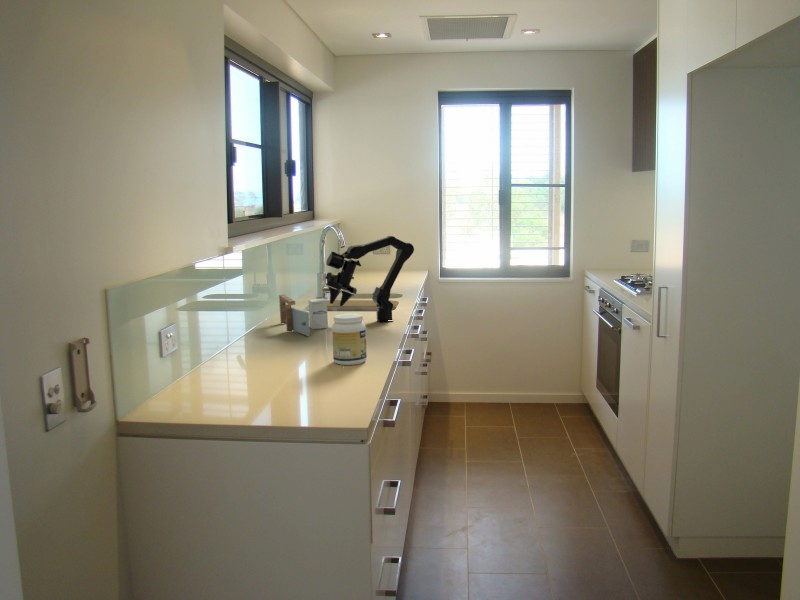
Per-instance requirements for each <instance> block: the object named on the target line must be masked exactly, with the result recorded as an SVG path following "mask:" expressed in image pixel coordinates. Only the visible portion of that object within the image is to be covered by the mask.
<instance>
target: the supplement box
mask: <svg viewBox="0 0 800 600" xmlns="http://www.w3.org/2000/svg"><path fill="white" fill-rule="evenodd" d="M308 312H309V328H311V330H318V329H328V328H329V319H328V300H327V299H325V298H319V299H318V298H317V299H315V298H313V299H308Z"/></svg>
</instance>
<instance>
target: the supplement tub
mask: <svg viewBox="0 0 800 600" xmlns="http://www.w3.org/2000/svg"><path fill="white" fill-rule="evenodd" d="M363 317H364V315H363V314H361V313H355V312H354V313H340V314H339V313H338V314H336V315H333V322H334V323H333V324H332V325H331V335H332V355H333V356H332V359H333V362H334V363H335V364H337V365H341V366H354V365H359V364H363V363H365V362H366V361H367V359H368V358H367V356H368V354H367V337H366V336H367V335H366V334H367V333H366V332H367V330H366V324H365V322H364V318H363Z"/></svg>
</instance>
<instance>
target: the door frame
mask: <svg viewBox="0 0 800 600" xmlns="http://www.w3.org/2000/svg"><path fill="white" fill-rule="evenodd" d="M278 299H279V301H278V302H279V314H280V315H279V316H280V324H281V323H286V324H285V325H286V332H287V331H293V330H292V313H291V308H292V306H294V305H296V300H294V299H292V298H291V297H289V296H287V295H285V294H279V295H278Z"/></svg>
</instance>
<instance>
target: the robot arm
mask: <svg viewBox="0 0 800 600" xmlns="http://www.w3.org/2000/svg"><path fill="white" fill-rule="evenodd" d="M390 246H392V247H393V248H394V249H396V252H395V259H394V261H393V263H392V264H391V267H390V269H389V270H388V273H387V275H386V277H385V278H384V281H383V282H382V284H381V285H380V286H379V287H377V286H376V287H375V289H374V291H373V293H372V296H371V297H372V302H373V303H374V304H375V306H376V307H377V311H376V321H378V322H379V321H388V320H393V308H394V303H393V302H392V301H390V297H391V292H392V287H393V286H394V283H395V282H396V280H397V278H398V276H399V274H400V272H401V270H402V268H403V266H404V265H405V263H406V262H407V261H408V260H409V259H410V258H411V256H413V254H414V252H415V248H414V245H413V244H412V243H410V242H406V241H402V240H401V239H398V238H397V237H395V236H393V235H388V236H386V237H383V238H380V239H377V240H373V241H370V242H368V243H365V244H357V245H356V244H355V245H350V246H348V247H347V249H346V251H344V252H343V253H341V254H340V253H337V252H335V251H331V253H330V254H329V256H328V257H327V258H326V262H325V263H326V266H327V267H330V268H333V269H336V270H339V269H341V271H340V272H337V274H333V273H332V272H327V274H326V275H325V277H324V278H325V280H326V284H325V285H326V286H327V289H329V292H330V293H329V294H330V295H329V303H330V304H331V305H332V304H333V303H334V302H335V301H336V299H337V298H338V297H339V295H340V293H341V297H340V302H339V306H340V307H343V306H344V305H345V304H346V302H348V300H350V299H351V298H352V297H353V296H355V295H356V294H357V292H358V290H357V288H356V287H354V286H352V285H350V284H351V282H352V280H354V279H355V277H354V274H355V271H356V268H357V266H358V267H362V264H361V262H360V260H359V259H361V258H363V257H365V256H366V255H368V253H371V252H374V251H377V250H380V249H383V248H385V247H390ZM346 259H347V260H346Z"/></svg>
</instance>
